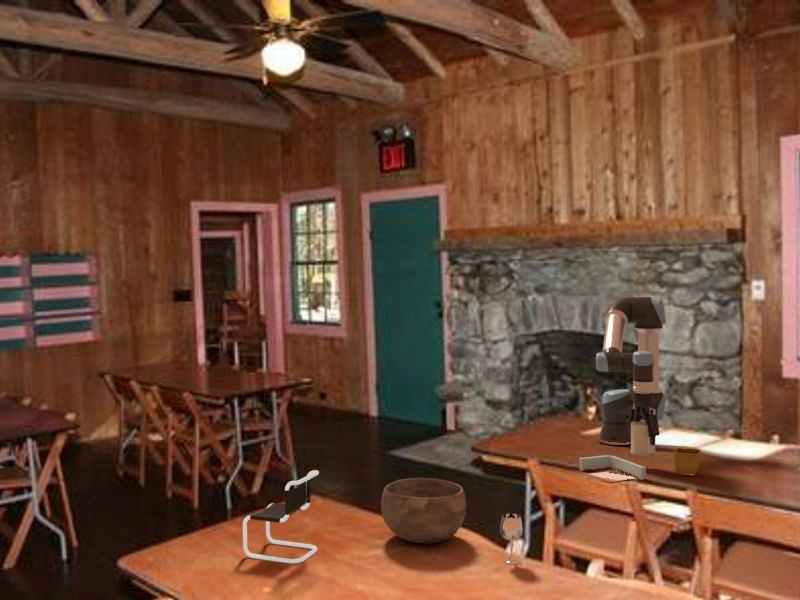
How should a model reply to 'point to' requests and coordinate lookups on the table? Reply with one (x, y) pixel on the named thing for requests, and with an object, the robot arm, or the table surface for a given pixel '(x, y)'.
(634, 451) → the can
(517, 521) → the wineglass
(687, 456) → the flower pot
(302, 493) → the chair
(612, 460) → the fence
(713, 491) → the table surface
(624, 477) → the tile
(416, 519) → the bowl
